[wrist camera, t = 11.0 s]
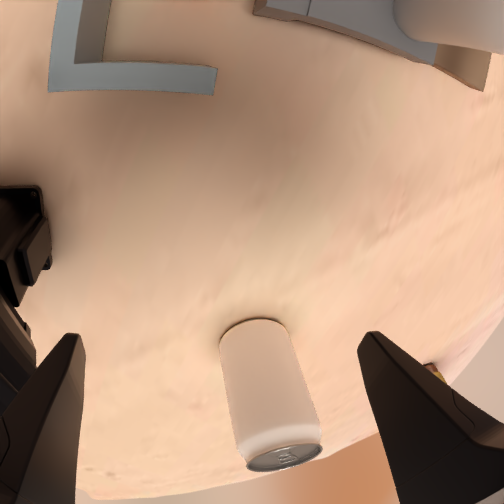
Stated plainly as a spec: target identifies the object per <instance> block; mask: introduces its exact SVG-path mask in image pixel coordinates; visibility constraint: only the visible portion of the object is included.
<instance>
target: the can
mask: <svg viewBox="0 0 504 504" xmlns="http://www.w3.org/2000/svg"><path fill="white" fill-rule="evenodd" d="M219 351H220V358H221V364H222V370H223V377H224V383H225V388H226V394H227V400H228V405H229V411H230V416H231V422H232V427H233V432H234V437H235V442H236V446H237V449H238V452H239V453H240V455H241V456H242V457H243V458H244V460H245V461H246V462H247V465H246V467H247V469H249V470H251V471H255V472H271V471H278V470H283V469H288V468H291V467H295V466H298V465H300V464H303V463H305V462H307V461H310V460H311V459H313V458H315V457H316V456H318V455H319V454H320V453H321V452H322V449H323V448H322V446H321V445H320V440H321V434H322V429H321V425H320V422H319V419H318V416H317V413H316V410H315V407H314V404H313V401H312V399H311V396H310V393H309V390H308V387H307V384H306V382H305V379H304V376H303V373H302V370H301V368H300V365H299V362H298V359H297V357H296V354H295V351H294V348H293V346H292V343H291V340H290V337H289V335H288V332H287V330H286V329H285V328H284V327H283V326H282V325H281V324H279V323H277V322H275V321H272V320H268V319H251V320H247V321H244V322H241V323H239V324H237V325H235V326H234V327H232V328H231V329H229V330H228V331H227V332H226V334H225V335H224V336H223V337H222V339H221V341H220V344H219Z"/></svg>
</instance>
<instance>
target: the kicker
mask: <svg viewBox="0 0 504 504" xmlns="http://www.w3.org/2000/svg"><path fill="white" fill-rule="evenodd" d="M253 14H255V15H260V16H265V17H270V18H274V19H279V20H283V21H291V20H294V19H296V20H300V21H303V22H307V23H311V24H314V25H318V26H321V27H324V28H328V29H331V30H334V31H337V32H340V33H343V34H346V35H349V36H352V37H355V38H357V39H360V40H363V41H365V42H368V43H371V44H373V45H376V46H378V47H381V48H383V49H386V50H388V51H390V52H393V53H395V54H397V55H400V56H402V57H404V58H406V59H408V60H411V61H413V62H418V63H423V64H429V65H433V64H434V60H435V55H436V51H437V46H438V43H440V44H447V45H454V46H461V47H467V48H473V49H478V50H483V51H488V52H493V53H497V54H502V55H504V0H256V1H255V6H254V10H253Z"/></svg>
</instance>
